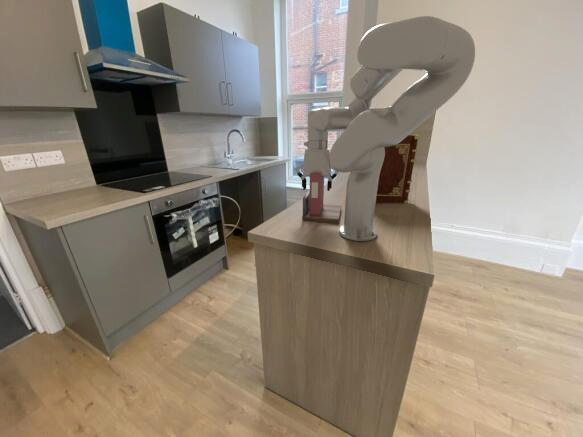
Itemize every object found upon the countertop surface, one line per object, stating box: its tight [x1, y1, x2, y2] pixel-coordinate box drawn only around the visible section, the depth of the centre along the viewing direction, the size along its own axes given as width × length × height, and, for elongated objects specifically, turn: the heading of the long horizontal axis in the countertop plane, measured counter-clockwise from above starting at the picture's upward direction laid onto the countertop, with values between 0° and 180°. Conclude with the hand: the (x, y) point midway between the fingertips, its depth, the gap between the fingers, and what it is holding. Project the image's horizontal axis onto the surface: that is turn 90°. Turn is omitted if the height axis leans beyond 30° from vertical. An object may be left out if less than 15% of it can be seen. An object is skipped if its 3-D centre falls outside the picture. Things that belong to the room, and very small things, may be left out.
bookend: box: [302, 188, 310, 216], centre depth 100 cm, size 14×1×7 cm, turn 166°
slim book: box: [309, 173, 325, 215], centre depth 98 cm, size 12×4×16 cm, turn 166°
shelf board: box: [301, 204, 342, 225], centre depth 100 cm, size 16×14×2 cm
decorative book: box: [376, 134, 420, 205], centre depth 111 cm, size 22×8×30 cm, turn 84°
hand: (316, 189), depth 97 cm, fingers open, 9 cm apart
